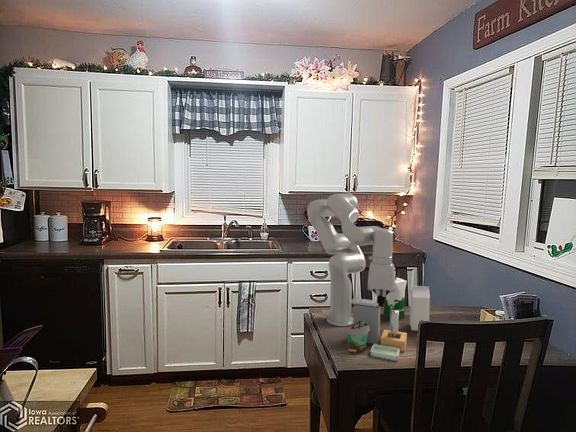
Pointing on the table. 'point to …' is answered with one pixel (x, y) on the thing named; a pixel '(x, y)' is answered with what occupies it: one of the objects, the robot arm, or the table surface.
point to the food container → (358, 337)
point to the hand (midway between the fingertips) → (380, 305)
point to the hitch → (377, 327)
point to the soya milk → (396, 299)
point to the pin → (394, 323)
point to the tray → (385, 352)
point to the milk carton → (419, 305)
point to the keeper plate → (364, 302)
